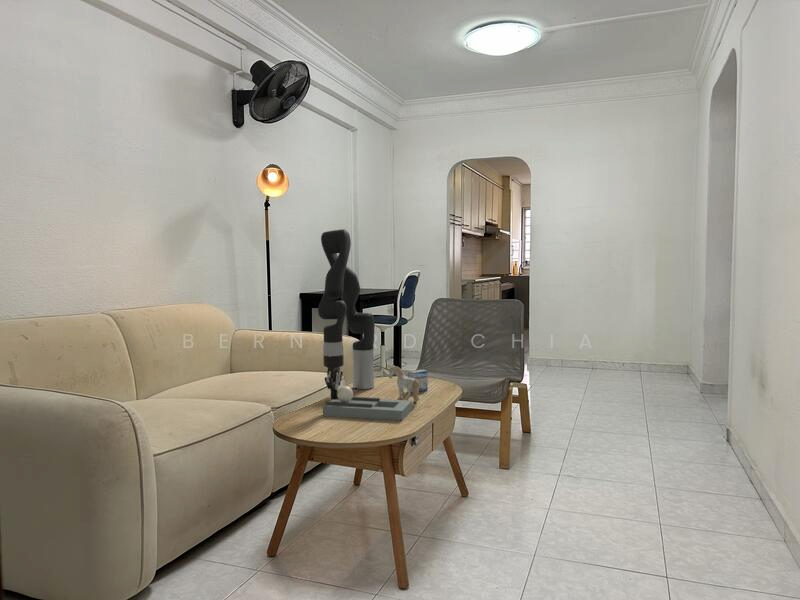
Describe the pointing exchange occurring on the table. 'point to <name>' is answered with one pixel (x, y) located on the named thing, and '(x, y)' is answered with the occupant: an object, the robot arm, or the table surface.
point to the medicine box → (420, 378)
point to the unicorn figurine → (404, 383)
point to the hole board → (368, 408)
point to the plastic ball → (345, 394)
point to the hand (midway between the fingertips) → (334, 398)
